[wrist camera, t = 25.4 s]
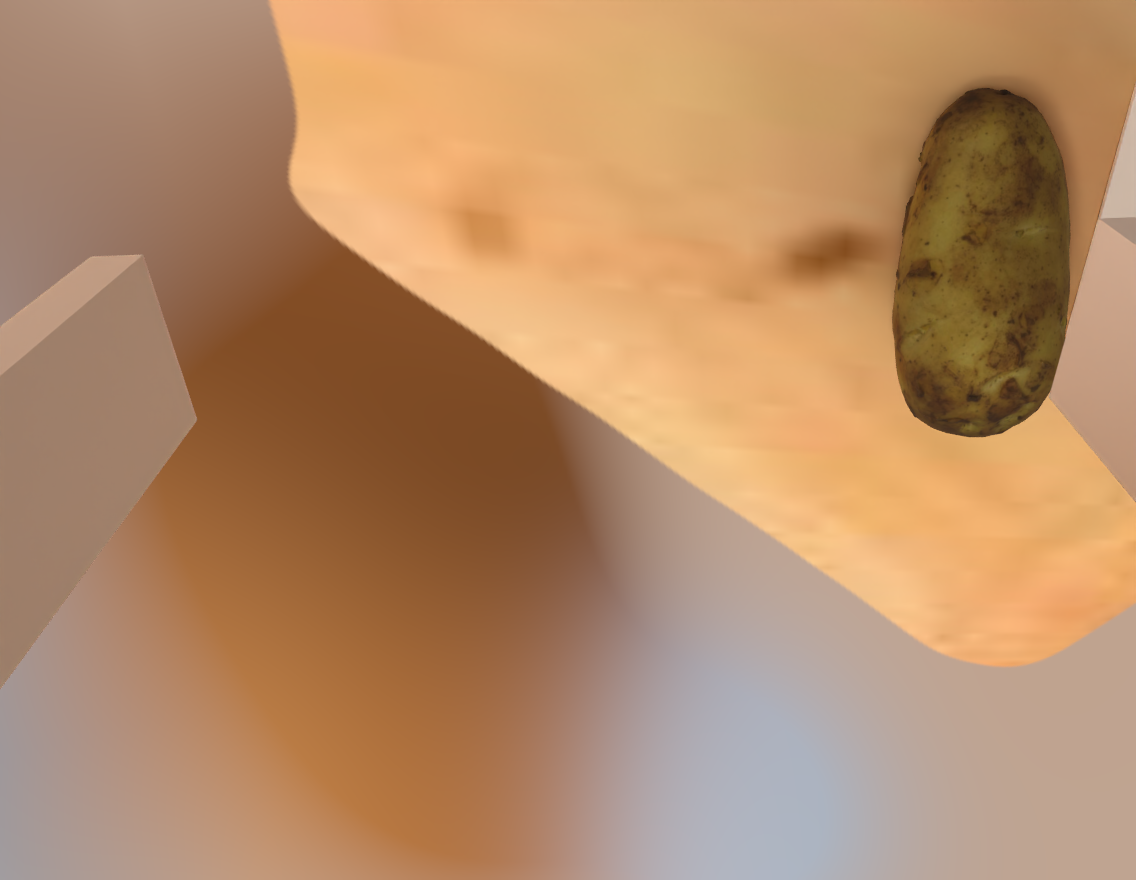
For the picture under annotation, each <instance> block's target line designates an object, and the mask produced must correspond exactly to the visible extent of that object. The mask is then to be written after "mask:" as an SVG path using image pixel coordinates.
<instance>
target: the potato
mask: <svg viewBox="0 0 1136 880" xmlns="http://www.w3.org/2000/svg"><path fill="white" fill-rule="evenodd" d="M918 159H919V161H920V162H921V170H920V173H919V176H918V179H917V183H916V190H915V193H914V196H912V197H911V198H910V200H909V202H908V203H907V206H906V214H905V220H904V225H903V230H902V233H903V234H902V235H903V241H902V247H901V253H900V258H899V265H898V270H897V273H896V276H897V281H896V288H895V296H894V306H893V315H892V323H893V334H894V340H895V357H896V368H897V374H898V379H899V383H900V386H901V390H902V393H903V395H904V398H905V401H906V403H907V405H908V407H909V409H910V411H911V412H912V413H913V415H914V417H917V418H918V419H920V420H921V421H922V422H924V423H925V424H927V425H928V426H930V427H932V428H934V429H937V430H939V431H942V432H946V433H950V434H955V435H960V436H966V437H986V436H990V435H995V434H1000V433H1003V432H1005V431H1006V430H1008V429H1009V428H1011V427H1013V426H1015V425H1017V424H1019V423H1021V422H1023V421H1024V420H1026V419H1027V418H1028V417H1029V416H1031V415H1032V414H1033V413H1034V412H1036V411H1037V410H1038V409H1039V407H1040V406H1041V404H1042V403H1043V401H1044V400H1045V398H1046V397H1047V395H1048V394H1049V392H1050V391H1051V388H1052V385H1053V381H1054V377H1055V374H1056V370H1057V367H1058V363H1059V359H1060V356H1061V352H1062V349H1063V345H1064V342H1065V329H1066V325H1067V312H1068V302H1069V292H1070V270H1069V244H1070V219H1069V204H1068V191H1067V184H1066V177H1065V171H1064V166H1063V161H1062V157H1061V154H1060V151H1059V149H1058V147H1057V144H1056V142H1055V140H1054V138H1053V135H1052V133H1051V131H1050V129H1049V127H1048V125H1047V123H1046V121H1045V119H1044V118H1043V116H1042V114H1041V113H1040V112H1039V111H1038V109H1037V108H1036V107H1035V106H1034V105H1033V104H1032V103H1030V102H1029V101H1028V100H1027V99H1025V98H1022V97H1019V96H1016V95H1014V94H1012V93H1010V92H1009V91H1007V90H1000V91H999V90H994V89H990V88H984V89H976V90H972V91H968V92H966V93H965V94H964V95H963V96H962V97H960V98H959V99H958V100H957V101H955V102H954V103H953V104H952V105H951V106H950V107H949V108H947V109H946V111H945V112H944V113H943V114H942V115H941V116H940V118H938V119H937V121H936V123H935V125H934V126H933V128H932V130H931V132H930V134H929V136H928V138H927V140H926V141H925V142H924V144H923V150H922V152H921V153H920V158H918Z"/></svg>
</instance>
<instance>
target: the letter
mask: <svg viewBox="0 0 1136 880" xmlns="http://www.w3.org/2000/svg"><path fill="white" fill-rule="evenodd" d="M1126 217H1136V83H1135V87H1134V90H1133V94H1132V98H1131V101H1130V105H1129V108H1128V112H1127V116H1126V119H1125V123H1124V126H1123V130H1122V134H1121V137H1120V141H1119V144H1118V148H1117V152H1116V155H1115V159H1114V162H1113V166H1112V170H1111V173H1110V177H1109V180H1108V184H1107V187H1106V191H1105V195H1104V198H1103V202H1102V205H1101V209H1100V213H1099V216H1098V220H1099V218H1126ZM1098 220H1097V223H1098ZM1097 223H1096V227H1097ZM1096 227H1095V230H1096ZM1094 234H1095V231H1094ZM1094 234H1093V238H1094ZM1093 238H1092V241H1093ZM1092 241H1091V245H1092ZM1091 245H1090V248H1091ZM1089 252H1090V249H1089ZM1089 252H1088V256H1089ZM1088 256H1087V259H1088ZM1087 259H1086V263H1087ZM1086 263H1085V266H1086ZM1084 270H1085V267H1084ZM1084 270H1083V273H1084ZM1082 277H1083V274H1082ZM1082 277H1081V281H1082ZM1081 281H1080V284H1081ZM1079 288H1080V285H1079ZM1079 288H1078V291H1079ZM1077 295H1078V292H1077ZM1077 295H1076V299H1077ZM1076 299H1075V302H1076ZM1075 302H1074V306H1075ZM1074 306H1073V309H1074ZM1072 313H1073V310H1072ZM1072 313H1071V316H1072ZM1070 320H1071V317H1070ZM1070 320H1069V324H1070ZM1069 324H1068V327H1069ZM1067 331H1068V328H1067ZM1067 331H1066V334H1067Z"/></svg>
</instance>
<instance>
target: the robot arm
mask: <svg viewBox="0 0 1136 880" xmlns="http://www.w3.org/2000/svg"><path fill="white" fill-rule="evenodd" d="M1049 398H1050V399H1051V400H1052V402H1053V403H1054V404H1055V405H1056V407H1057V408H1058V409H1059V410H1060V411H1061V413H1062V414H1063V415H1064V416H1065V417H1066V419H1067V420H1068V421H1069V422H1070V423H1071V425H1072V426H1073V427H1074V428H1075V429H1076V431H1077V432H1078V433H1079V434H1080V436H1081V437H1082V438H1083V439H1084V440H1085V442H1086V443H1087V444H1088V445H1089V446H1090V448H1091V449H1092V450H1093V451H1094V452H1095V454H1096V455H1097V456H1098V457H1099V458H1100V460H1101V461H1102V462H1103V463H1104V465H1105V466H1106V467H1107V468H1108V469H1109V471H1110V472H1111V473H1112V474H1113V475H1114V477H1115V478H1116V479H1117V480H1118V481H1119V483H1120V484H1121V485H1122V486H1123V488H1124V489H1125V490H1126V491H1127V492H1128V494H1129V495H1130V496H1131V497H1132V498H1133V500H1134V501H1135V502H1136V217H1126V218H1099V220H1098V223H1097V227H1096V230H1095V234H1094V238H1093V241H1092V245H1091V248H1090V252H1089V256H1088V259H1087V263H1086V266H1085V270H1084V273H1083V277H1082V281H1081V284H1080V288H1079V291H1078V295H1077V299H1076V302H1075V306H1074V309H1073V313H1072V316H1071V320H1070V324H1069V327H1068V331H1067V334H1066V338H1065V342H1064V345H1063V349H1062V352H1061V356H1060V359H1059V363H1058V367H1057V370H1056V374H1055V377H1054V381H1053V385H1052V388H1051V392H1050V395H1049ZM196 421H197V418H196V415H195V412H194V409H193V406H192V403H191V400H190V396H189V393H188V390H187V387H186V384H185V381H184V378H183V375H182V372H181V369H180V366H179V363H178V360H177V357H176V354H175V351H174V348H173V345H172V341H171V338H170V335H169V333H168V329H167V326H166V323H165V321H164V317H163V314H162V311H161V308H160V305H159V302H158V299H157V296H156V293H155V290H154V287H153V283H152V281H151V277H150V275H149V271H148V268H147V265H146V262H145V259H144V256H143V255H121V256H95V257H90V258H88V259H87V260H86V261H85V262H83V263H82V264H81V265H79V266H78V267H77V268H75V269H74V270H73V271H72V272H70V273H69V274H68V275H66V276H65V277H64V278H62V279H61V280H60V281H58V282H57V283H56V284H55V285H53V286H52V287H51V288H49V289H48V290H47V291H46V292H44V293H43V294H42V295H40V296H39V297H38V298H36V299H35V300H34V301H32V302H31V303H30V304H28V305H27V306H26V307H25V308H23V309H22V310H21V311H19V312H18V313H17V314H16V315H14V316H13V317H12V318H10V319H9V320H8V321H6V322H5V323H4V324H3V325H1V326H0V689H1V687H2V686H3V684H4V683H5V682H6V681H7V679H8V678H9V676H10V675H11V674H12V672H13V671H14V670H15V668H16V667H17V665H18V664H19V663H20V661H21V660H22V659H23V657H24V656H25V654H26V653H27V652H28V651H29V649H30V648H31V646H32V645H33V644H34V642H35V641H36V640H37V638H38V637H39V635H40V634H41V633H42V631H43V630H44V629H45V627H46V626H47V625H48V623H49V622H50V620H51V619H52V618H53V616H54V615H55V614H56V612H57V611H58V610H59V608H60V607H61V605H62V604H63V603H64V601H65V600H66V599H67V597H68V596H69V595H70V593H71V592H72V590H73V589H74V588H75V586H76V585H77V584H78V582H79V581H80V579H81V578H82V577H83V575H84V574H85V573H86V571H87V570H88V569H89V567H90V566H91V564H92V563H93V562H94V560H95V559H96V558H97V556H98V555H99V554H100V552H101V551H102V549H103V548H104V547H105V545H106V544H107V543H108V541H109V540H110V538H111V537H112V536H113V534H114V533H115V532H116V530H117V529H118V527H119V526H120V525H121V523H122V522H123V521H124V519H125V518H126V517H127V515H128V514H129V512H130V511H131V510H132V508H133V507H134V506H135V504H136V503H137V502H138V500H139V499H140V498H141V496H142V495H143V493H144V492H145V491H146V489H147V488H148V487H149V485H150V484H151V482H152V481H153V480H154V478H155V477H156V476H157V474H158V473H159V471H160V470H161V469H162V467H163V466H164V465H165V463H166V462H167V461H168V459H169V458H170V456H171V455H172V454H173V452H174V451H175V450H176V448H177V447H178V446H179V444H180V443H181V441H182V440H183V439H184V437H185V436H186V435H187V433H188V432H189V431H190V429H191V428H192V426H193V425H194V424H195V422H196Z"/></svg>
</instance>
